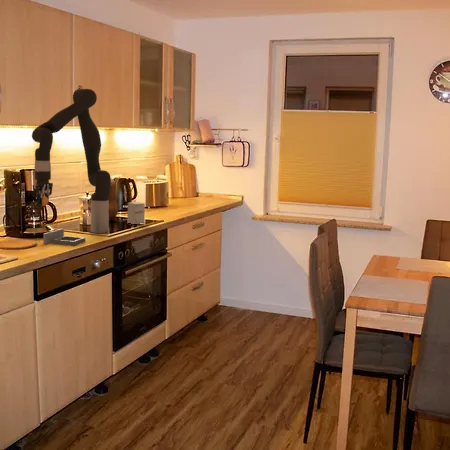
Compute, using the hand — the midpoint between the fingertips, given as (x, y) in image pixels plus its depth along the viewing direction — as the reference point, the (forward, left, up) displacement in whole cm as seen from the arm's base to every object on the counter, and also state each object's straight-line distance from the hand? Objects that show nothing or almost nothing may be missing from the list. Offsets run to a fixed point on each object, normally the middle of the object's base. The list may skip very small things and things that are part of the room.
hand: (43, 204), depth 293 cm
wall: (+2, +7, -17) cm, 19 cm away
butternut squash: (-66, 0, -17) cm, 68 cm away
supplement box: (-64, +20, -17) cm, 69 cm away
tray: (+2, +16, -17) cm, 23 cm away
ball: (0, 0, +2) cm, 2 cm away
